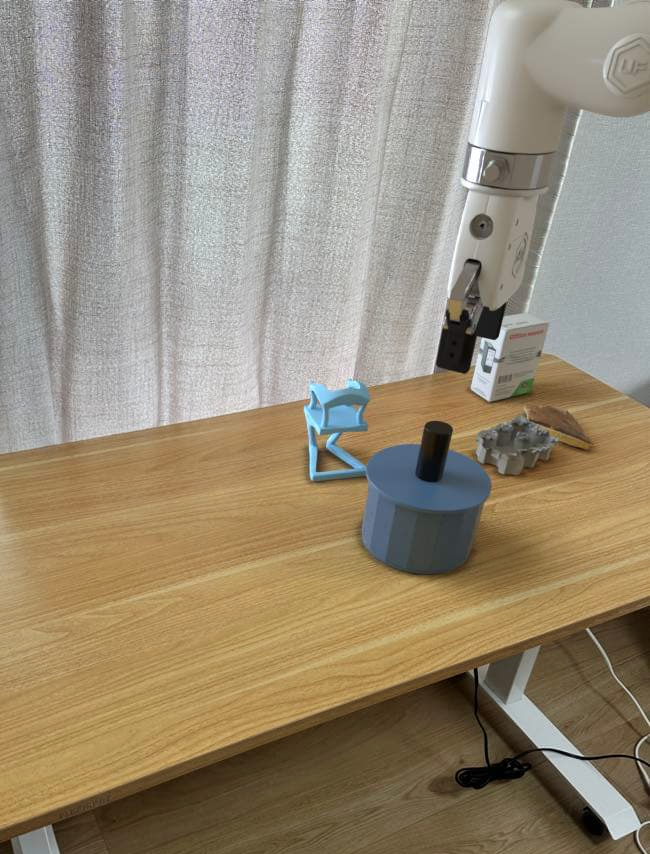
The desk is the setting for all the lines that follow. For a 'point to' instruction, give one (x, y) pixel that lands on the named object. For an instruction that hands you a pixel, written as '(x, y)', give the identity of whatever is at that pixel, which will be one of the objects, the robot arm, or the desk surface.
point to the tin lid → (429, 474)
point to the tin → (417, 536)
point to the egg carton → (514, 445)
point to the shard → (558, 424)
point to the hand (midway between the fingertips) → (467, 352)
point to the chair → (336, 424)
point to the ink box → (510, 358)
